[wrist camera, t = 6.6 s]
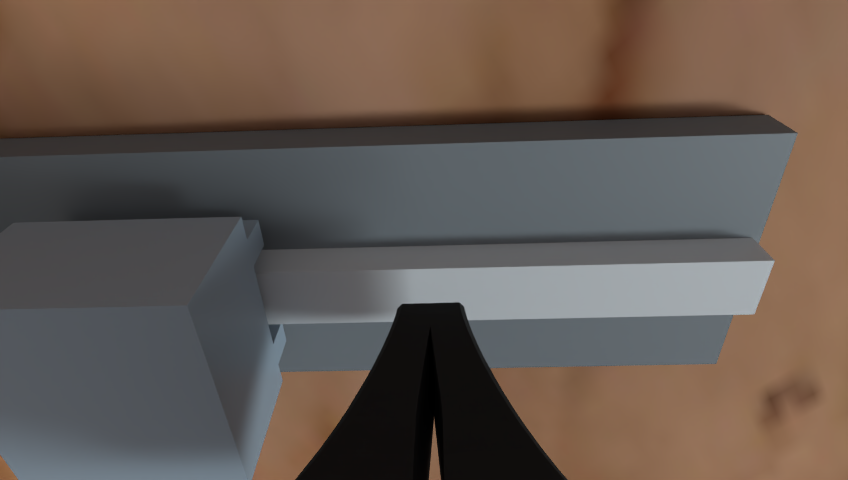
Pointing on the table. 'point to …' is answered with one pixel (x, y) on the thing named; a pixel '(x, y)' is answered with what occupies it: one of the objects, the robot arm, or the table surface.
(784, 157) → the rail base
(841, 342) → the table surface
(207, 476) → the carriage
